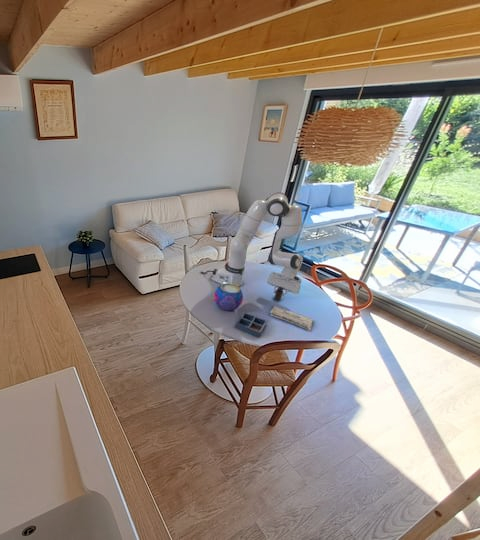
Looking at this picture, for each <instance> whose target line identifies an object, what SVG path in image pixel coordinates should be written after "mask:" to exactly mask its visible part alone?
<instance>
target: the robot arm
mask: <svg viewBox="0 0 480 540" xmlns="http://www.w3.org/2000/svg"><path fill="white" fill-rule="evenodd" d="M268 214H269V215H270V216H273V217H278V218H281V223H280V227H279V228H277V229H276V231H275V232H274V235H273V239H272V242H271V247H270V251H269V253H268V257H267V261H268V263H270V265H272V266H278V267H283V269H282V270H281V272H280V273H279V272H275V271H273V272H270V273H269V276H268V278H267V280H266V284H267V285H270V286H272V287H273V291H272V292H273V294H275V293H276V290H277V289H278V287H282V288H283V291H285V292H283V293H282V297H285V296H286V295H287V294H289V292H290V293H292V294H295V295H299V293H300V292H301V291H300V290H301V288H302V287H301V285H302V278H300V277H299V276H297V274H298V272H299V270H300V269H301V266H302V264H303V261H304V257H303V255H301V254H299V253H292V252H285V251H281V250H280V248H281V244H282V240H284V239H288V238H293V237H295V236H297V235H298V234H300V232H301V230H302V227H303V211H302V208H301V206H299V205H298V204H297V205H296V204H290V203H289V198H288V196H287V194H285V193H283V192H275V193H273V194H271V195H270V196H269V197H267V198H266V199H265V200H263V199H256V200H254V202H252V204H251V205H250V207H249V208H248V210H247V211H246V213H245V215H244V217H243V219H242V221H241V223H240V226H239V227H238V230H237V232H236V234H235V235H234V237H233V238H232V239H231V241H230V244H229V258H228V260H227V261H226V263H225V264H224V266H223V267H220V268H214V269H213V270H206V271H205V272H204V271H200V273H201V274H204V275H205V274H207V273H212V275H211V278H210V279H211V280H212V281H214V282H216V283H218V284H219V285H221V284H224V283H231V284H234V285H236V286H238V287H239V288H240V287H241V286H243V285H244V284H243V283H244V282H243V275H244V272H245V267H246V266H245V265H246V260H247V251H248V247H249V246H250V245H251V243H252V241H253V239H254V237H255V235H256V233H257V231H258V230H259V228H260V226H261V224H262V223H263V221H264V219H265V217H266V216H267V215H268Z"/></svg>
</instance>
